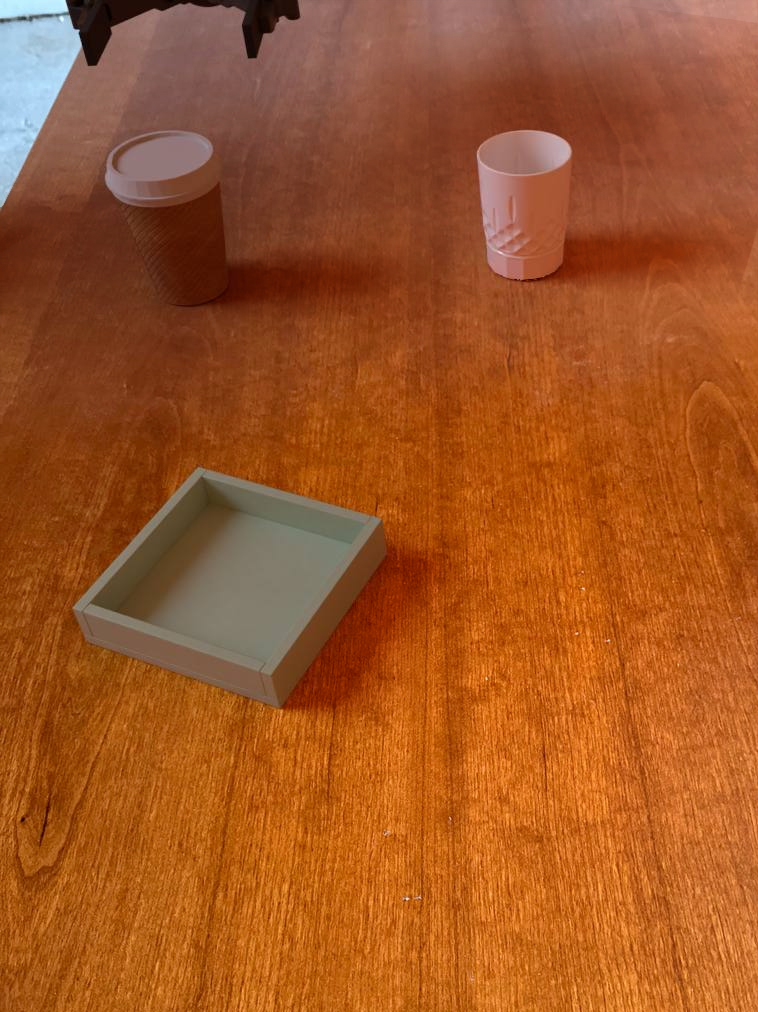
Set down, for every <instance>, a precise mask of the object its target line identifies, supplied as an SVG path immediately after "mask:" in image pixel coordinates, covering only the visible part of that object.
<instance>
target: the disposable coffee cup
mask: <svg viewBox="0 0 758 1012" xmlns="http://www.w3.org/2000/svg"><path fill="white" fill-rule="evenodd" d="M223 164H224V163H223V159H222V156H220V154H219V153H218V152H217V151H216V150H215V148H214V146H213V144H212V142H211V141H210V139H208V138H207V137H206V136H203V135H202V134H200V133H196V132H193V131H187V130H186V131H185V130H176V129H175V130H157V131H152V132H148V133H144V134H140V135H137V136H134V137H131V138H130V139H128V140H127V139H126V140H125V141H123V142H121V143H120V144H118V145H117V146H116V147H114V148H113V150H112V151H110V153H109V154H108V156H107V159H106V171H105V175H104V181H105V184H106V187H107V189H108V190H109V191H110V192H111V193H112V194H113V196H114V197H115V198H116V199H117V202H118V204H119V207H120V209H121V211H122V213H123V216H124V218H125V221H126V223H127V225H128V227H129V230H130V232H131V234H132V237H133V239H134V242H135V244H136V246H137V248H138V251H139V253H140V256H141V258H142V260H143V262H144V264H145V267H146V270H147V271H148V274H149V276H150V278H151V281H152V284H153V286H154V288H155V291H156V293H157V295H158V298H160V299H161V300H162V301H164V302H166V303H167V304H171V305H176V306H186V307H187V306H195V305H201V304H204V303H208V302H210V301H212V300H215V299H216V298H218V297H220V296H221V295H222V294H223V293H224V292H225V291H226V290H227V288H228V285H229V280H230V279H229V271H228V258H227V250H226V248H227V247H226V235H225V225H224V217H223V216H224V215H223V202H222V191H221V190H222V189H221V181H220V180H221V178H222V171H223V167H224V165H223Z"/></svg>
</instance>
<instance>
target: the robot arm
mask: <svg viewBox="0 0 758 1012" xmlns="http://www.w3.org/2000/svg"><path fill="white" fill-rule="evenodd" d="M64 1H65V4H66V8H67V12H68V15H69V17H70V22H71V25H72V29H73V30H75V31H78V33H77V34H78V37H79V41H80V44H81V47H82V52H83V55H84V58H85V61H86V65H87V67H97V66H98V64H99V62H100V60H101V58H102V55H104V54H103V53H104V52H105V49H106V47H107V45H108V43H109V41H110V39H111V37H112V35H113V31H112V28H113V27H115V26H118V25H120V24H122V23H125V22H126V21H129V20H131V19H133V18H136V17H139V16H141V15H143V14H145V13H147V12H150V11H152V10H157V11H160V12H164V11H167V10H169V9H172V8H173V7H176V6H178V5H182V6H183V5H184V6H185V5H188V4H190V5H193V6H196V7H200V8H215V7H219V6H222V7H224V8H225V9H231V8H233V7H234V8H236V9H237V10H240V11H242V12H244V15H243V19H242V22H241V30H242V35H243V41H244V46H245V51H246V56H247V59H248V60H249V59H251V60H253V59H254V60H255V59H258V56H259V51H260V48H261V45H262V40H263V38H264V35H265V34H272V33H274V32H275V30H276V26H277V24H278V23H279V22H280V18H281V17H285V19H287V20H288V21H298V20H299V19H301V12H300V11H301V10H300V7H299V6H300V4H299V0H64Z"/></svg>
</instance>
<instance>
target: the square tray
mask: <svg viewBox="0 0 758 1012" xmlns="http://www.w3.org/2000/svg"><path fill="white" fill-rule="evenodd" d="M387 555H388V549H387V541H386V534H385V525H384V520H383V518H381V517H378V516H374V515H371V514H367V513H363V512H359V511H356V510H353V509H349V508H346V507H342V506H339V505H335V504H331V503H327V502H324V501H321V500H317V499H314V498H310V497H307V496H303V495H299V494H296V493H292V492H289V491H286V490H282V489H278V488H275V487H271V486H268V485H264V484H262V483H261V484H260V483H257V482H254V481H250V480H246V479H243V478H240V477H236V476H231V475H229V474H225V473H222V472H218V471H215V470H211V469H207V468H204V467H200V466H197V468H196V469H195V470H194V471H193V472H192V473H191V474H190V475H189V476H188V478H187V479H186V480H185V481H184V482H183V483H182V484H181V485H180V487H178V489H177V490H176V491H175V492H174V493H173V494H172V496H171V497H170V498H169V499H168V500H167V501H166V502H165V504H163V506H162V507H161V508H160V509H159V510H158V511H157V512H156V513H155V514H154V516H153V517H152V518H151V519H150V520H149V521H148V522H147V524H146V525H144V526H143V528H142V529H141V530H140V531H139V533H138V534H136V536H135V537H134V538H133V539H132V541H130V543H129V544H128V545H127V546H126V547H124V549H123V550H122V552H121V553H119V555H118V556H117V557H116V558H115V559H114V560H113V562H112V563H111V564H110V565H109V566H108V567H107V568H106V569H105V571H104V572H102V574H101V575H100V576H99V578H97V579H96V581H94V582H93V584H92V585H91V586H90V587H89V589H88V590H87V591H86V592H85V593H84V594H83V595H82V596H81V597H80V598H79V600H78V601H77V602H76V603H75V604H74V606H72V611H73V613H74V615H75V618H76V621H77V622H78V624H79V627H80V629H81V632H82V634H83V636H84V638H85V640H86V643H89V644H90V645H91V644H92V645H95V646H97V647H100V648H103V649H106V650H109V651H112V652H114V653H117V654H121V655H124V656H126V657H129V658H132V659H135V660H138V661H140V662H144V663H146V664H150V665H152V666H155V667H158V668H160V669H164V670H167V671H170V672H172V673H176V674H178V675H181V676H184V677H187V678H190V679H193V680H196V681H199V682H202V683H205V684H207V685H211V686H212V687H213V686H214V687H216V688H219V689H221V690H225V691H228V692H230V693H233V694H236V695H238V696H242V697H245V698H248V699H251V700H253V701H256V700H257V701H256V702H260V703H262V704H265V705H268V706H271V707H274V708H277V709H282V707H283V706H284V704H285V703H286V701H287V700H288V699H289V697H290V696H291V695H292V693H293V691H294V690H295V688H296V687H297V686H298V684H299V683H300V681H301V679H303V677H304V675H305V674H306V672H307V671H308V670H309V668H310V667H311V665H312V664H313V662H314V661H315V659H316V658H317V656H318V655H319V654H320V652H321V651H322V649H323V648H324V646H325V645H326V643H327V642H328V641H329V639H330V638H331V636H332V635H333V633H334V632H335V631H336V629H337V627H339V624H340V623H341V621H342V620H343V619H344V617H345V616H346V614H347V613H348V612H349V610H350V608H352V606H353V604H354V602H355V601H356V600H357V598H358V597H359V596H360V594H361V593H362V591H363V590H364V589H365V587H366V585H367V584H368V582H369V581H370V580H371V578H372V576H373V575H374V574H375V573H376V571H377V569H378V568H379V567H380V565H381V564H382V562H383V561H384V559H385V558H386V557H387Z"/></svg>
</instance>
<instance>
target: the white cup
mask: <svg viewBox="0 0 758 1012" xmlns="http://www.w3.org/2000/svg"><path fill="white" fill-rule="evenodd" d="M476 161H477V162H476V163H477V172H478V184H479V195H480V196H479V197H480V207H481V208H480V209H481V215H482V226H483V233H484V236H485V242H486V244H485V245H486V257H487V258H486V259H487V265H488V266H489V267H490V268H491V270H492V271H493V272H494V273H495V274H497V275H499V276H501V275H502V276H501V277H503V278H506V279H508V278H509V279H508V280H514V279H517V280H516V281H522V280H523V279H529V278H535V277H541V276H545V275H547V274H549V273H552V272H554V271H555V270H556V269H557V268H558V267H559V266H560V265H561V264H562V263H563V262H564V250H565V249H564V248H565V238H566V234H567V230H568V229H567V228H568V219H569V207H570V193H571V179H572V178H571V176H572V164H573V163H572V162H573V148H572V146H571V144H570V143H569V142H568V141H567V140H566V139H565V138H563V137H561V136H559V135H557V134H554V133H551V132H548V131H543V130H533V129H520V130H519V129H518V130H511V131H505V132H502V133H499V134H495V135H494V136H491V137H490V138H488V139H486V140H485V141H483V142H482V143H481V144H480V146H479V147H478V149H477V151H476ZM562 265H563V264H562ZM562 265H561V266H562ZM561 266H560V267H561ZM560 267H559V268H560ZM559 268H558V269H559ZM558 269H557V270H558ZM519 279H520V280H519Z"/></svg>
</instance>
